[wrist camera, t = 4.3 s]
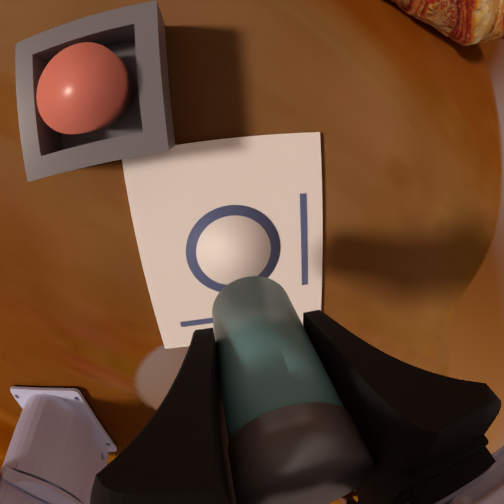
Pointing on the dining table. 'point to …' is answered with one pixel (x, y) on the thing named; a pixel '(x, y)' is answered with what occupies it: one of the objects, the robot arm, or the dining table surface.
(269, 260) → the paper sheet
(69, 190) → the dining table surface
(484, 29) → the croissant
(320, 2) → the dining table surface
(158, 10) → the button housing
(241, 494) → the marker
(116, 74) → the button
